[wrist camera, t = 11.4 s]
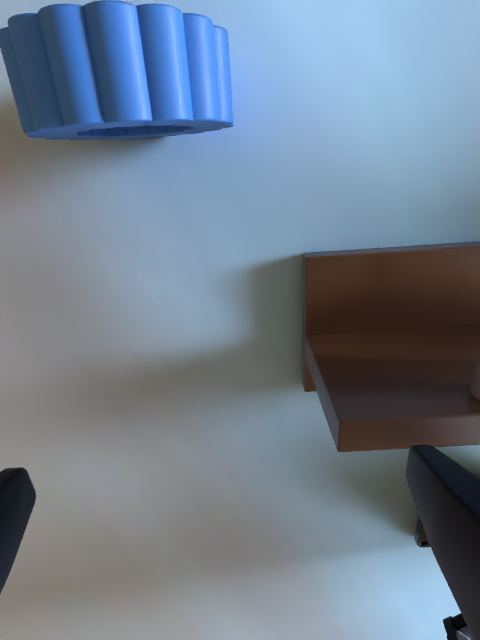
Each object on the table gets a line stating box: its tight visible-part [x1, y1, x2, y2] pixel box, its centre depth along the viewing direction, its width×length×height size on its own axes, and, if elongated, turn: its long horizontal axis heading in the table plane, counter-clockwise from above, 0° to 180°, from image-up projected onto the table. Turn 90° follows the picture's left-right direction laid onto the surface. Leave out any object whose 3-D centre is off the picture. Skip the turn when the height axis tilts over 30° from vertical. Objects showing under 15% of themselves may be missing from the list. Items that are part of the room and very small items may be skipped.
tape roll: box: [0, 0, 233, 140], centre depth 12 cm, size 3×7×7 cm, turn 93°
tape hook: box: [302, 242, 480, 452], centre depth 15 cm, size 14×12×8 cm
